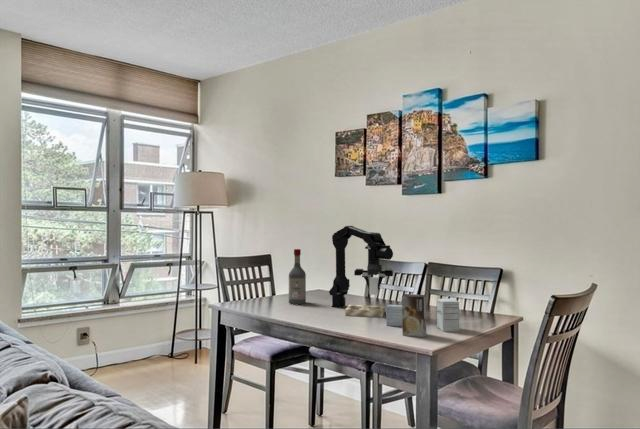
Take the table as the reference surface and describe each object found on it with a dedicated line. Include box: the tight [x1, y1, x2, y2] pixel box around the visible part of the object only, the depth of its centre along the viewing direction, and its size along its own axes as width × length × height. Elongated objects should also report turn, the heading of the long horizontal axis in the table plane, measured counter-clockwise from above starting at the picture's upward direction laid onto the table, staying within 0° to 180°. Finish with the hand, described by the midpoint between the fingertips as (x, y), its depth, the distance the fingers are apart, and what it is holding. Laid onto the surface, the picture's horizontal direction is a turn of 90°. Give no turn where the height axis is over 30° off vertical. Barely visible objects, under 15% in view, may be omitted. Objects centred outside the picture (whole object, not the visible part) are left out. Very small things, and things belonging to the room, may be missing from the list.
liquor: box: [288, 248, 307, 305], centre depth 267 cm, size 9×9×30 cm
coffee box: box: [401, 293, 428, 338], centre depth 195 cm, size 9×6×16 cm
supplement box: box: [436, 298, 460, 333], centre depth 204 cm, size 7×7×13 cm
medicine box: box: [385, 304, 402, 327], centre depth 212 cm, size 8×4×9 cm, turn 71°
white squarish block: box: [368, 276, 379, 296], centre depth 237 cm, size 4×4×8 cm
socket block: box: [344, 304, 385, 318], centre depth 238 cm, size 18×13×3 cm
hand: (373, 289), depth 237 cm, fingers closed on white squarish block, 4 cm apart
